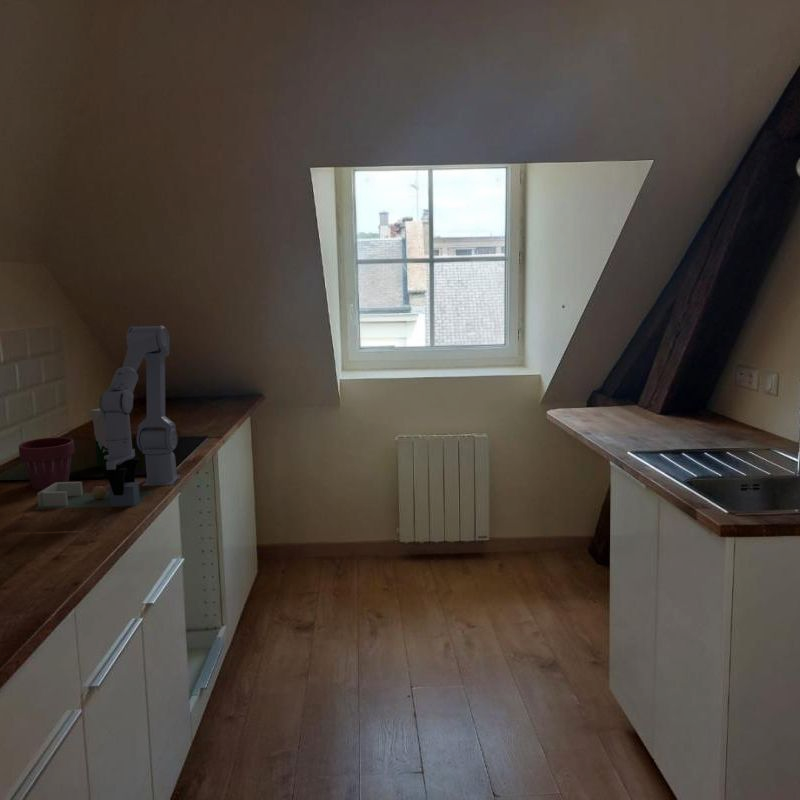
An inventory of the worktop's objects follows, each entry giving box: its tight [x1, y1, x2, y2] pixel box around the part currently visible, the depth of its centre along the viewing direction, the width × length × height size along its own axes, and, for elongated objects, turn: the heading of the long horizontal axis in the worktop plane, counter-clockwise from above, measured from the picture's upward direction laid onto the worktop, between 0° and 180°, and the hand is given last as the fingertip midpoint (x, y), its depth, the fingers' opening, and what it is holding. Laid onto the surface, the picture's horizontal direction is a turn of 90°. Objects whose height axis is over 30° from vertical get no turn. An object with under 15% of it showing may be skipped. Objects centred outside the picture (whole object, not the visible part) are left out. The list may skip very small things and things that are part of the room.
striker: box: [108, 481, 140, 507], centre depth 193 cm, size 4×6×5 cm, turn 90°
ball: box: [91, 485, 107, 499], centre depth 198 cm, size 4×4×4 cm
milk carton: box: [89, 408, 109, 469], centre depth 235 cm, size 9×9×20 cm
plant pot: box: [18, 436, 76, 491], centre depth 213 cm, size 14×14×13 cm
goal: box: [37, 481, 84, 507], centre depth 198 cm, size 10×7×4 cm
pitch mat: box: [33, 490, 154, 510], centre depth 198 cm, size 13×26×1 cm, turn 90°
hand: (124, 490), depth 193 cm, fingers open, 7 cm apart
